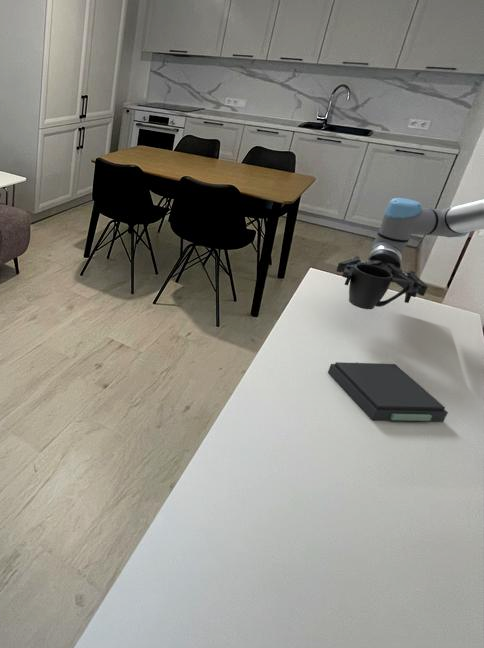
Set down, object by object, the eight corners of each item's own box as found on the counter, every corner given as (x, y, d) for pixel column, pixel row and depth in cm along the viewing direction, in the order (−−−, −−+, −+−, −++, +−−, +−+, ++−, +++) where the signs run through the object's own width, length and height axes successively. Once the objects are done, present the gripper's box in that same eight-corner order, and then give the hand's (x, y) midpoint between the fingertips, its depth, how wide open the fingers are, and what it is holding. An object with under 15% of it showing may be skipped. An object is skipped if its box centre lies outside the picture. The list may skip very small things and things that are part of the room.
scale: (445, 423, 99) (451, 410, 97) (373, 422, 98) (379, 409, 96) (390, 374, 113) (395, 362, 111) (327, 372, 112) (332, 360, 110)
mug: (398, 321, 120) (413, 286, 116) (342, 305, 125) (354, 271, 122) (397, 307, 126) (411, 274, 122) (343, 293, 132) (355, 260, 128)
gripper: (432, 288, 132) (432, 320, 115) (331, 261, 145) (318, 285, 128) (443, 263, 129) (444, 291, 113) (339, 237, 142) (326, 259, 126)
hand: (377, 288), depth 120 cm, fingers closed on mug, 12 cm apart
